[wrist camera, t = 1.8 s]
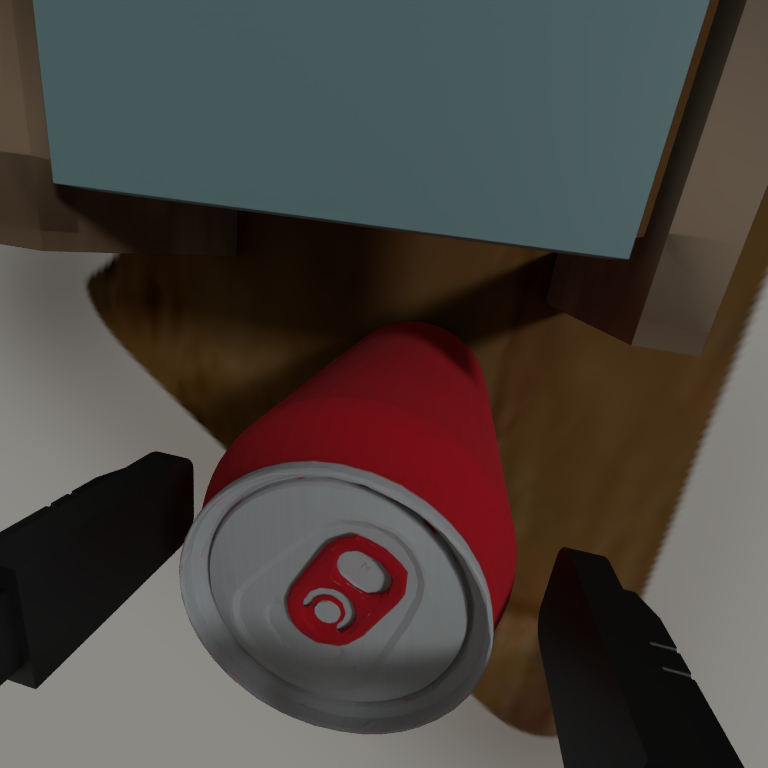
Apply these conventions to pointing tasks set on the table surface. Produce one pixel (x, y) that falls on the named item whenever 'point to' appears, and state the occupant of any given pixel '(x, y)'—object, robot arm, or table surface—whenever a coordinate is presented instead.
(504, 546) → the beverage can
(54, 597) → the robot arm
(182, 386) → the table surface
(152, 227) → the trapdoor frame
